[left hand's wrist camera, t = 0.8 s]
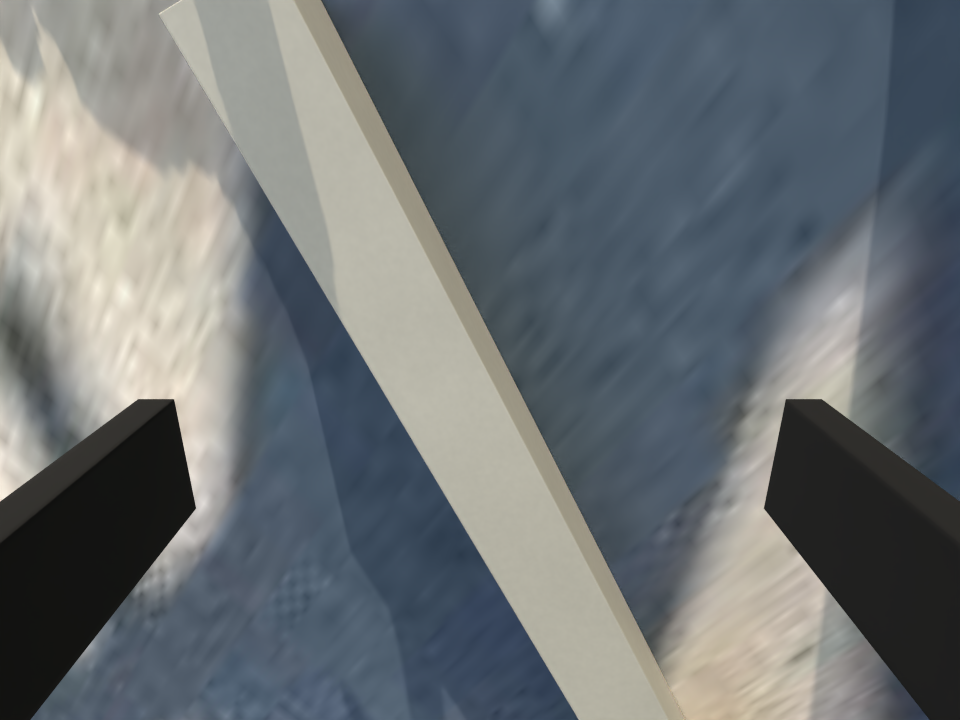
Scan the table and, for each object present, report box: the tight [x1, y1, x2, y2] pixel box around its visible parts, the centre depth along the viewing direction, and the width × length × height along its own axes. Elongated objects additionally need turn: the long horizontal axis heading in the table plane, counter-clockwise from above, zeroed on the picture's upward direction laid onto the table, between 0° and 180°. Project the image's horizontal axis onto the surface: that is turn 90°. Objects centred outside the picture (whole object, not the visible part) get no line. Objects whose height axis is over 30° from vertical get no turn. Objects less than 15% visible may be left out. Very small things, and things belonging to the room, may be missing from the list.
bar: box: [159, 0, 685, 720], centre depth 38 cm, size 77×5×7 cm, turn 26°
